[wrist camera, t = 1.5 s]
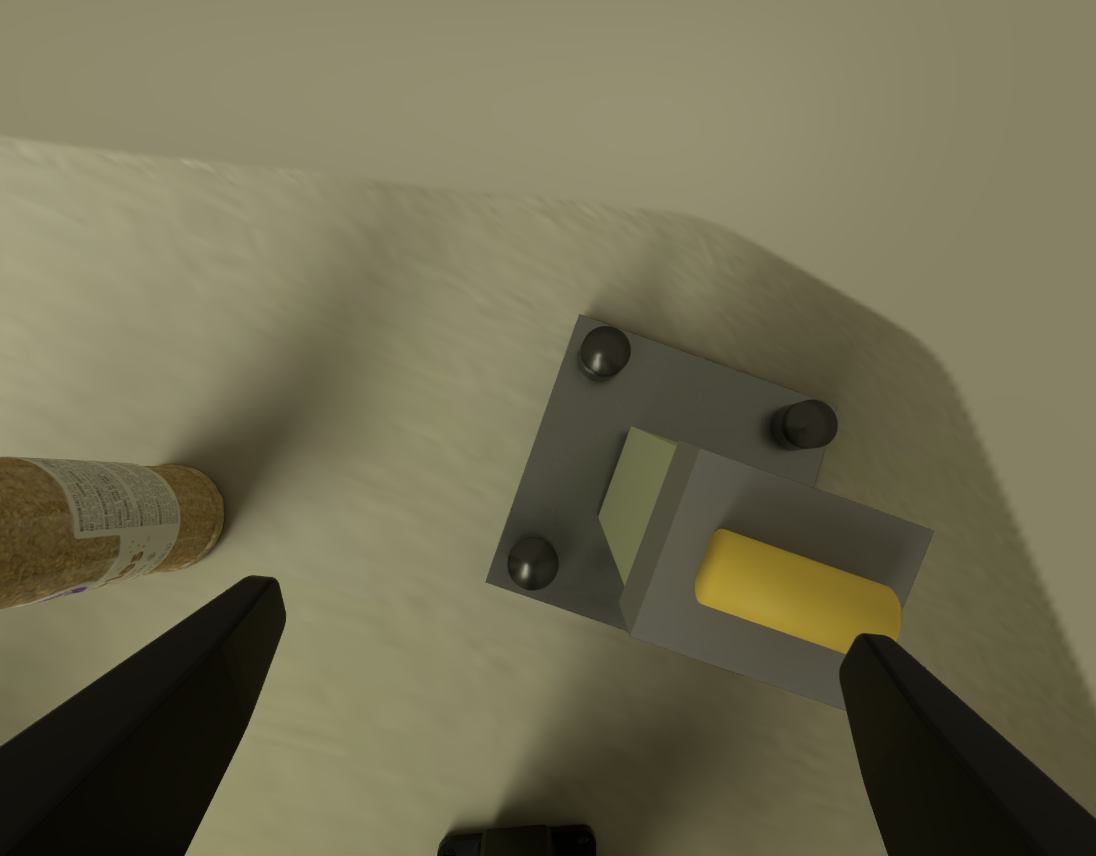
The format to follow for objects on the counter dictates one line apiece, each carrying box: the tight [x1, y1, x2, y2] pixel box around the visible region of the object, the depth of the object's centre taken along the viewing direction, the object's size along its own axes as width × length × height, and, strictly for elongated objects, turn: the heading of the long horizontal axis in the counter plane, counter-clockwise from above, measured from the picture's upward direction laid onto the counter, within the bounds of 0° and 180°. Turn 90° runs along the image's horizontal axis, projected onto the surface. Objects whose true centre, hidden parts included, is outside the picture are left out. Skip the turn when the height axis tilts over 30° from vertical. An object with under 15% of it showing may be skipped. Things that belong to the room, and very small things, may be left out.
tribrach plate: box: [486, 314, 838, 631], centre depth 24 cm, size 12×12×3 cm
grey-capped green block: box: [598, 426, 934, 711], centre depth 17 cm, size 4×5×12 cm
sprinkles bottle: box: [0, 457, 224, 610], centre depth 18 cm, size 5×5×14 cm
